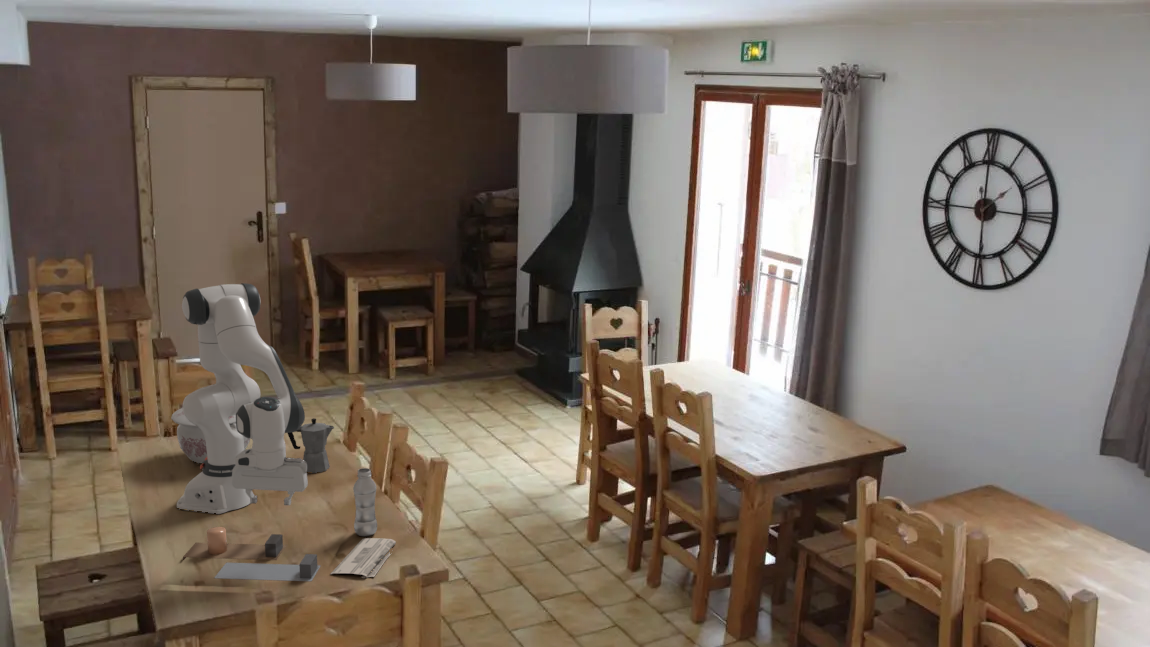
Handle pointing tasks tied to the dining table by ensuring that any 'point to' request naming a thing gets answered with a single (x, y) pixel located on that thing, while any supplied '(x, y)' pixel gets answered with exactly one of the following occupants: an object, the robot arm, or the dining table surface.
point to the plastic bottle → (365, 503)
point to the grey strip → (272, 570)
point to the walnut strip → (242, 550)
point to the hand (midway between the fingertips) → (270, 503)
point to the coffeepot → (314, 445)
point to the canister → (217, 540)
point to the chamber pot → (195, 437)
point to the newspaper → (366, 557)
